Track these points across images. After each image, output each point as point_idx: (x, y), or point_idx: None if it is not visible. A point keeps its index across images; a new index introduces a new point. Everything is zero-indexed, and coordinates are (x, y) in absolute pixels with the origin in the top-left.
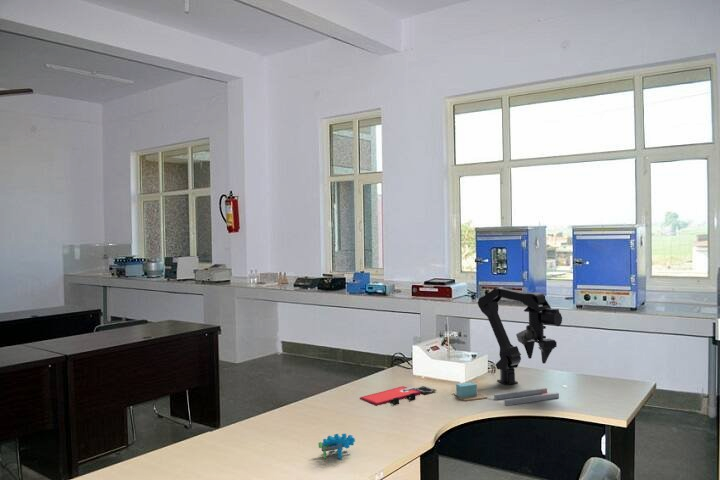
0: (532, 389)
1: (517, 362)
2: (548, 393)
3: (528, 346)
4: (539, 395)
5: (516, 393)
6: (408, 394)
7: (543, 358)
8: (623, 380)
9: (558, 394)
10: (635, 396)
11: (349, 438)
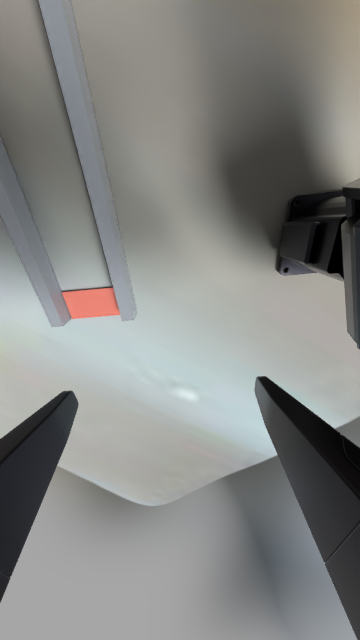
0: (116, 254)
1: (346, 305)
2: (110, 310)
3: (354, 530)
4: (15, 232)
5: (72, 126)
6: None
7: (14, 433)
8: (180, 491)
9: (53, 323)
10: (66, 463)
11: None
